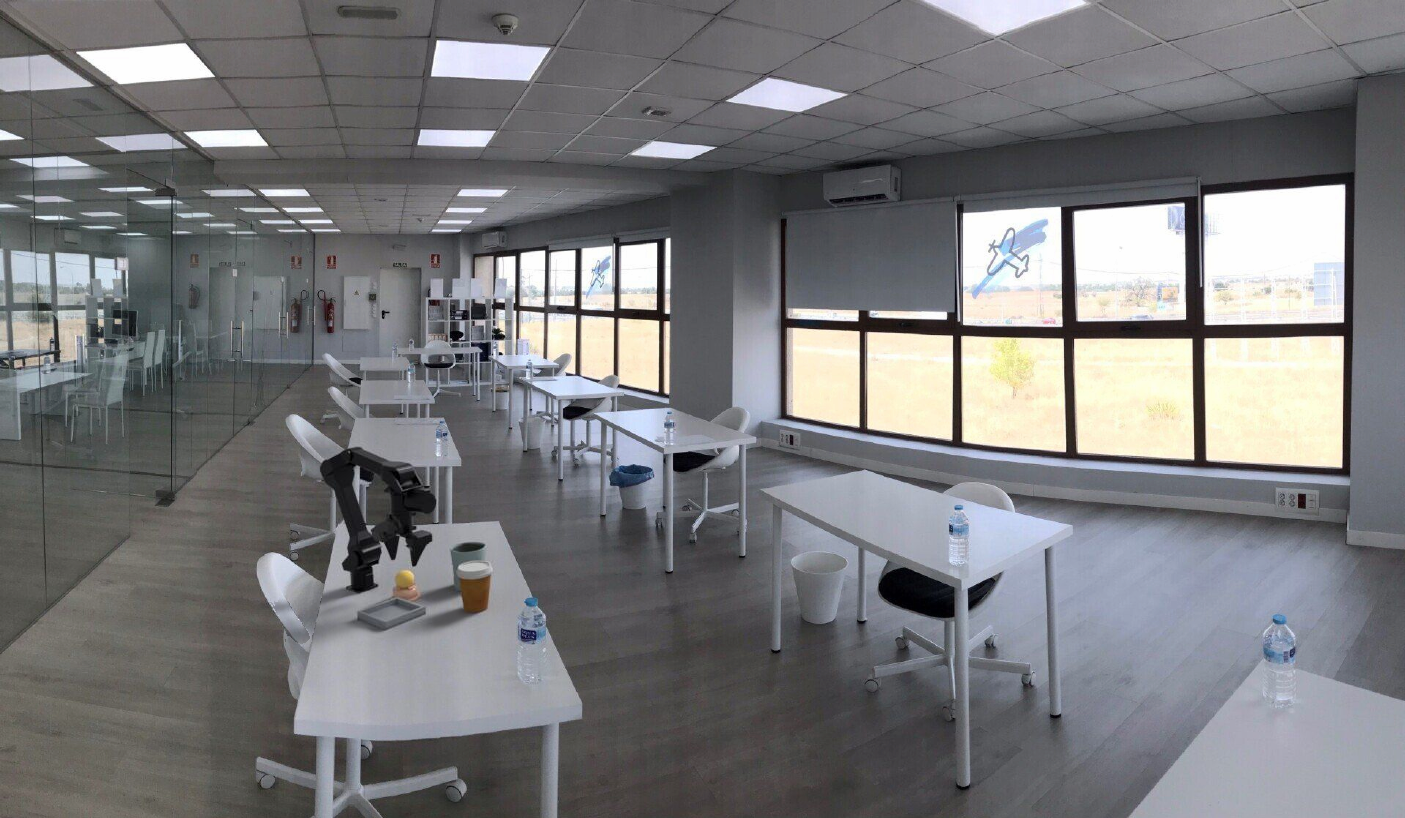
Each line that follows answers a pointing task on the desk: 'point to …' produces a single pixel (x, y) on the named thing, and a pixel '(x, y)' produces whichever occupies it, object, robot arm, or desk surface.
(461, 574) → the disposable coffee cup
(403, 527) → the robot arm
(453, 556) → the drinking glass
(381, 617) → the tray
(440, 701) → the desk surface
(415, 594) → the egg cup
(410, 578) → the ball
